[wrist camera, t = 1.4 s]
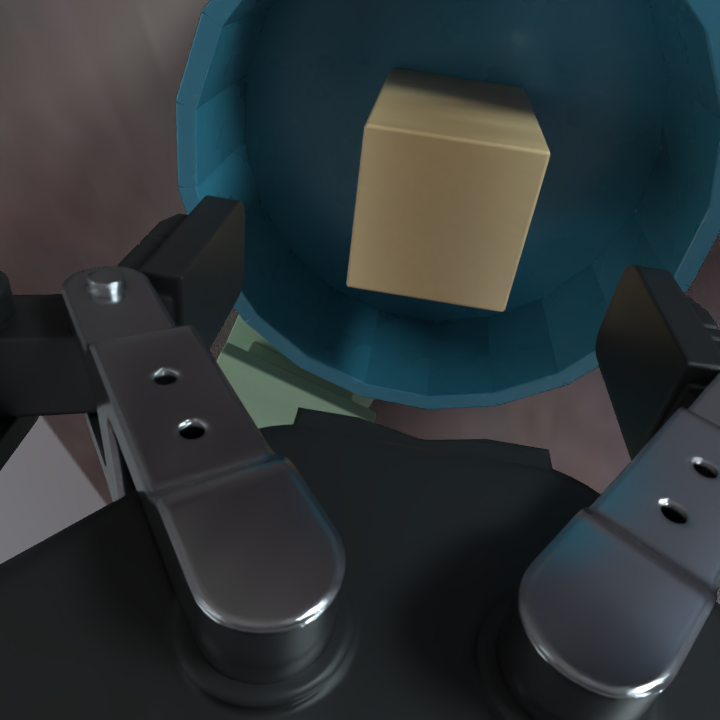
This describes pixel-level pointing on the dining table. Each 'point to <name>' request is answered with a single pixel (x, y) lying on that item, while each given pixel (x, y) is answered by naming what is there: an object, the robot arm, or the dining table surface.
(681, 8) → the tin
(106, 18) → the dining table surface
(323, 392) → the stand
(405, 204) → the block
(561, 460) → the dining table surface
